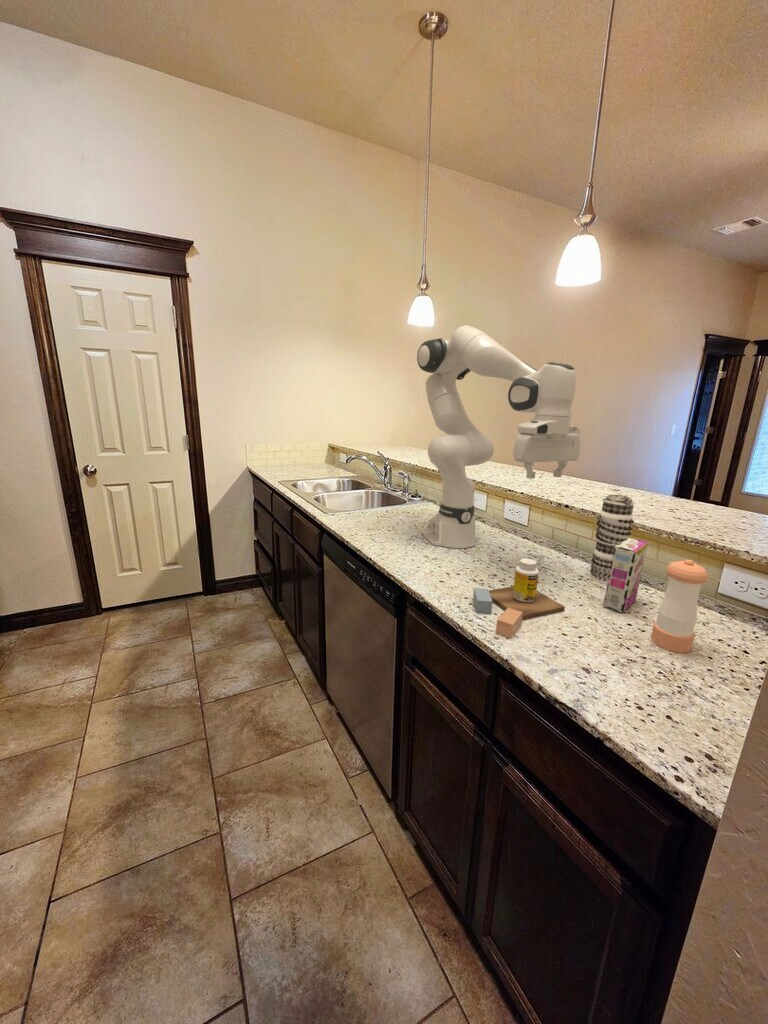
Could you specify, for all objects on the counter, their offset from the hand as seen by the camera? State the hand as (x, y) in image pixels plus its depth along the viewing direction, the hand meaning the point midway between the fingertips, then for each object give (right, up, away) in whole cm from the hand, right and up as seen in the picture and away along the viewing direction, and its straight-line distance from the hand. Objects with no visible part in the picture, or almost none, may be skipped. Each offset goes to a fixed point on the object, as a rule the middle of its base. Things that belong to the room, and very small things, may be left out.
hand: (544, 477), depth 114 cm
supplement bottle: (-8, -32, -8) cm, 34 cm away
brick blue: (-20, -33, -11) cm, 40 cm away
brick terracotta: (-16, -36, -21) cm, 45 cm away
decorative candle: (+21, -29, +8) cm, 37 cm away
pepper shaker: (+18, -38, -25) cm, 49 cm away
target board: (-9, -33, -8) cm, 35 cm away
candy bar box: (+17, -33, -7) cm, 38 cm away
